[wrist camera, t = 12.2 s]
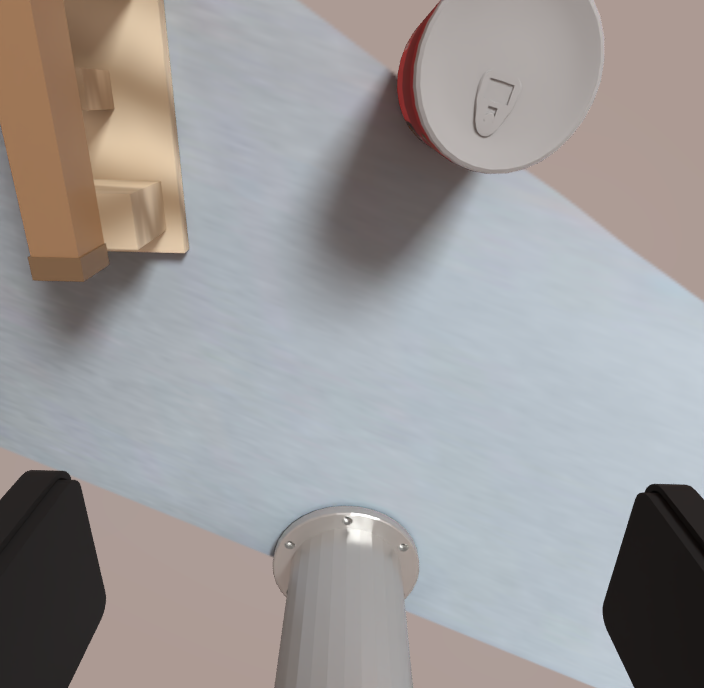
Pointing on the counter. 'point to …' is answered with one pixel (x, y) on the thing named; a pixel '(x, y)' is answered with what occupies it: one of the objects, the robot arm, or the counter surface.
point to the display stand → (129, 122)
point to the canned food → (501, 79)
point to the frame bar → (48, 142)
